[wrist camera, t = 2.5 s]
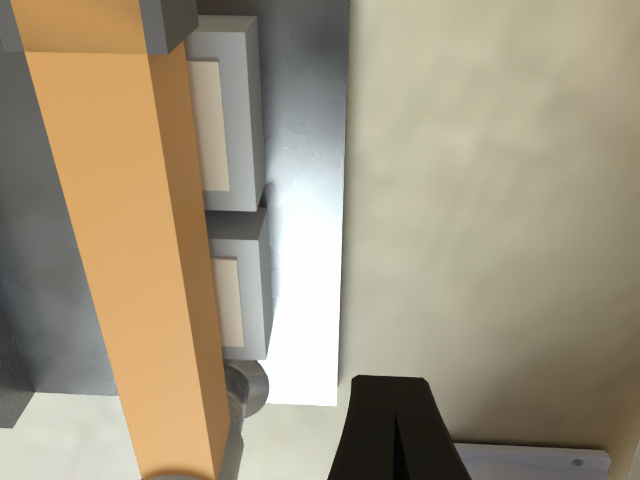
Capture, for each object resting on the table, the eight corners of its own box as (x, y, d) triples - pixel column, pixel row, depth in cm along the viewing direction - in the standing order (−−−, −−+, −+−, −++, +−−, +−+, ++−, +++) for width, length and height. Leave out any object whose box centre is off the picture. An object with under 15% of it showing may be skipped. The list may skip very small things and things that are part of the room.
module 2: (267, 207, 18) (257, 242, 17) (273, 322, 21) (265, 362, 19) (118, 202, 19) (94, 236, 17) (143, 317, 21) (124, 356, 20)
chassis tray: (349, -9, 16) (348, 16, 13) (336, 406, 25) (333, 476, 22) (-131, -16, 16) (-239, 6, 13) (31, 392, 26) (-11, 459, 23)
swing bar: (246, 469, 22) (232, 547, 19) (164, 465, 22) (139, 542, 19) (190, -53, 12) (146, -36, 9) (43, -55, 12) (-40, -38, 9)
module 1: (257, 16, 15) (244, 33, 13) (265, 180, 18) (255, 213, 16) (77, 12, 15) (41, 29, 14) (112, 176, 18) (86, 207, 16)
